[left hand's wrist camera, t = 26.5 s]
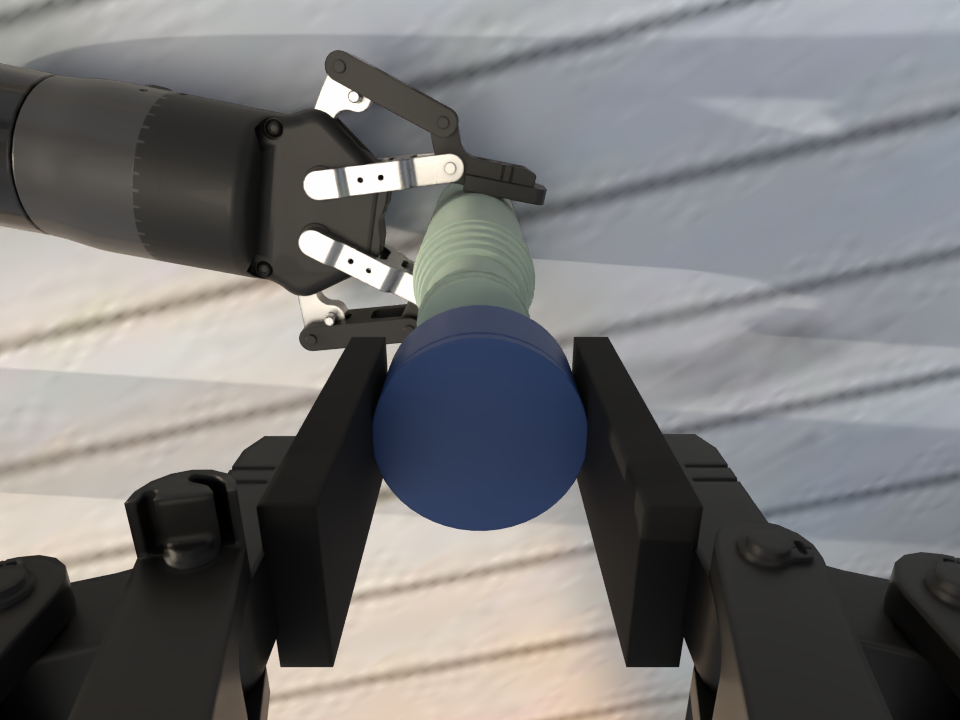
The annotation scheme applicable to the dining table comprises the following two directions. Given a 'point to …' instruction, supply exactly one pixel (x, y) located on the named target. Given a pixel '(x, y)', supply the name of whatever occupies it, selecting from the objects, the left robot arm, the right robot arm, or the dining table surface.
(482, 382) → the cap
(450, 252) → the bottle
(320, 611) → the left robot arm
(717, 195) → the dining table surface
